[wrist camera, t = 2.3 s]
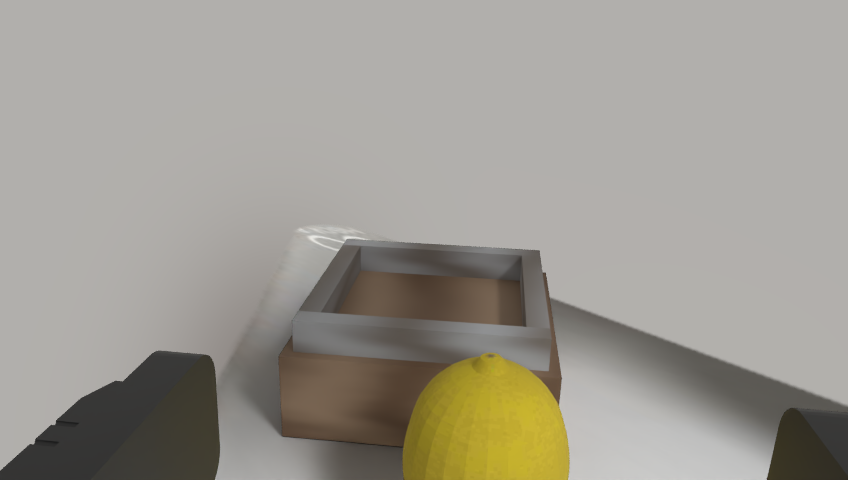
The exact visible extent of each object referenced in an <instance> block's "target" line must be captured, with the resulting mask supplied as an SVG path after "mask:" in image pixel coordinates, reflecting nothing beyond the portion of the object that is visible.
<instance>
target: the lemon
mask: <svg viewBox="0 0 848 480" xmlns="http://www.w3.org/2000/svg"><path fill="white" fill-rule="evenodd" d="M402 459H403V476H404V480H568V475H569V447H568V439H567V434H566V429H565V425H564V421H563V418H562V414H561V411H560V408H559V406H558V403H557V401H556V400H555V398H554V396H553V395H552V393H551V392H550V390H549V389H548V388H547V386H546V385H545V384H544V383H543V382H542V381H541V380H540V379H539V378H538V377H537V376H535V375H534V374H533V373H532V372H530V371H529V370H528V369H527V368H525V367H523V366H521V365H519V364H517V363H515V362H513V361H510V360H507V359H504V358H502V357H501V356H500V355H499V354H496V353H484V354H482V355H481V356H480V357H473V358H468V359H465V360H462V361H460V362H457V363H454V364H452V365H451V366H449V367H447V368H446V369H444V370H443V371H441V372H440V373H438V374H437V375H436V376H435V377H434V378H433V379H432V380H431V381H430V382H429V384H428V385H427V386H426V387H425V389H424V390H423V391H422V392H421V394H420V396H419V398H418V400H417V402H416V404H415V407H414V409H413V412H412V415H411V418H410V422H409V425H408V428H407V432H406V436H405V441H404V447H403V458H402Z"/></svg>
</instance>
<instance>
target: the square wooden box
mask: <svg viewBox="0 0 848 480" xmlns="http://www.w3.org/2000/svg"><path fill="white" fill-rule="evenodd" d="M292 334H293V335H292V336H291V338H290V339H289V341H288V342H287V344H286V346H285V347H284V349H283V350H282V352H281V353H280V355H279V377H280V398H281V419H282V436H286V437H298V438H309V439H320V440H332V441H343V442H355V443H366V444H377V445H389V446H400V447H404V441H405V436H406V432H407V428H408V425H409V422H410V418H411V415H412V412H413V409H414V407H415V404H416V402H417V400H418V398H419V396H420V394H421V392H422V391H423V390H424V389H425V387H426V386H427V385H428V384H429V382H430V381H431V380H432V379H433V378H434V377H435V376H436V375H437V374H438V373H440V372H441V371H443V370H444V369H446V368H447V367H449V366H451V365H452V364H454V363H457V362H460V361H462V360H465V359H468V358H473V357H480V356H481V355H482V354H484V353H496V354H499V355H500V356H501V357H502V358H504V359H507V360H510V361H513V362H515V363H517V364H519V365H521V366H523V367H525V368H527V369H528V370H529V371H530V372H532V373H533V374H534V375H535V376H537V377H538V378H539V379H540V380H541V381H542V382H543V383H544V384H545V385H546V386H547V388H548V389H549V390H550V392H551V393H552V395H553V396H554V398H555V400H556V401H557V403H558V406H559V399H560V390H561V380H562V377H561V371H560V364H559V357H558V351H557V344H556V337H555V331H554V324H553V318H552V311H551V304H550V298H549V291H548V285H547V278H546V273H542V266H541V258H540V251H538V250H522V249H505V248H488V247H471V246H455V245H438V244H421V243H404V242H388V241H371V240H354V239H347V240H346V241H345V243H344V244H343V246H342V247H341V249H340V250H339V252H338V253H337V255H336V256H335V257H334V259H333V260H332V262H331V263H330V265H329V266H328V268H327V269H326V271H325V272H324V274H323V275H322V277H321V278H320V280H319V281H318V283H317V284H316V286H315V287H314V289H313V290H312V292H311V293H310V295H309V296H308V297H307V299H306V300H305V302H304V303H303V305H302V306H301V308H300V309H299V311H298V312H297V314H296V315H295V317H294V318H293V320H292Z"/></svg>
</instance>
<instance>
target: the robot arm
mask: <svg viewBox="0 0 848 480" xmlns="http://www.w3.org/2000/svg"><path fill="white" fill-rule="evenodd" d="M219 456H220V442H219V426H218V409H217V393H216V377H215V367H214V363H213V361H212V359H211V357H210V356H208V355H202V354H191V353H179V352H168V351H156V352H154V353H152V354H151V355H150V356H149V357H148V358H147V359H146V360H145V361H144V362H143V363H142V364H141V365H140V366H139V367H138V368H137V369H136V370H134V371H133V372H132V373H131V374H130V375H129V376H128V377H127V378H126V379H125V380H124V381H123V382H122V381H114V382H112V383H110V384H108V385H106V386H104V387H102V388H100V389H98V390H96V391H94V392H92V393H90V394H89V395H86V396H84V397H82V398H81V399H80V400H78V401H77V402H76V403H75V404H74V405H73V406H72V407H71V408H70V409H68V410H67V411H66V412H65V413H64V414H63V415H62V416H61V417H60V418H58V419H57V420H56V424H55V425H51V426H50V427H48V428H47V429H46V430H45V431H44V432H43V433H42V434H41V435H40V436H38V437H37V438H36V439H35V444H34V445H32V444H30V445H29V446H27V447H26V448H25V449H24V450H23V451H22V452H21V453H20V454H19V455H17V456H16V457H15V458H14V459H13V460H12V461H11V462H10V463H8V464H7V465H6V466H5V467H4V468H3V469H2V470H1V471H0V480H215V477H216V473H217V469H218V464H219ZM767 480H848V413H844V412H832V411H821V410H810V409H798V408H790V409H788V410H787V411H786V412H785V413H784V415H783V416H782V418H781V421H780V424H779V428H778V433H777V437H776V442H775V446H774V451H773V455H772V460H771V464H770V468H769V473H768V477H767Z"/></svg>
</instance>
